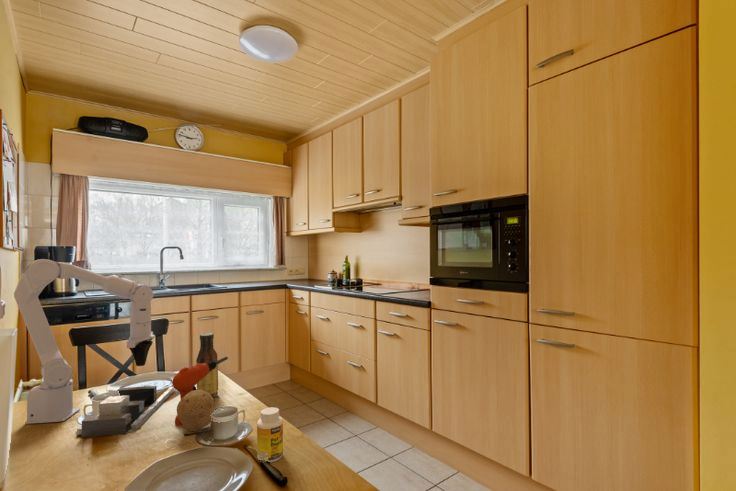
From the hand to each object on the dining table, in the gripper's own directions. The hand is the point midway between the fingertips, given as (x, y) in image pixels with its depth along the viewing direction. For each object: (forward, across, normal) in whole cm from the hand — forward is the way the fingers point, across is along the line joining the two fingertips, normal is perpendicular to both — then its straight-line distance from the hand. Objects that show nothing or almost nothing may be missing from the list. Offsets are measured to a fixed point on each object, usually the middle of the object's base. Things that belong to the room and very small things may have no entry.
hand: (140, 365), depth 122 cm
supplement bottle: (+10, -44, -44) cm, 63 cm away
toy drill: (+10, -17, -23) cm, 30 cm away
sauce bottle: (+10, -4, -21) cm, 24 cm away
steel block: (+10, -21, -2) cm, 23 cm away
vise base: (+10, -12, -2) cm, 15 cm away
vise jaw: (+10, -13, -2) cm, 16 cm away
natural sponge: (+10, -27, -24) cm, 38 cm away
